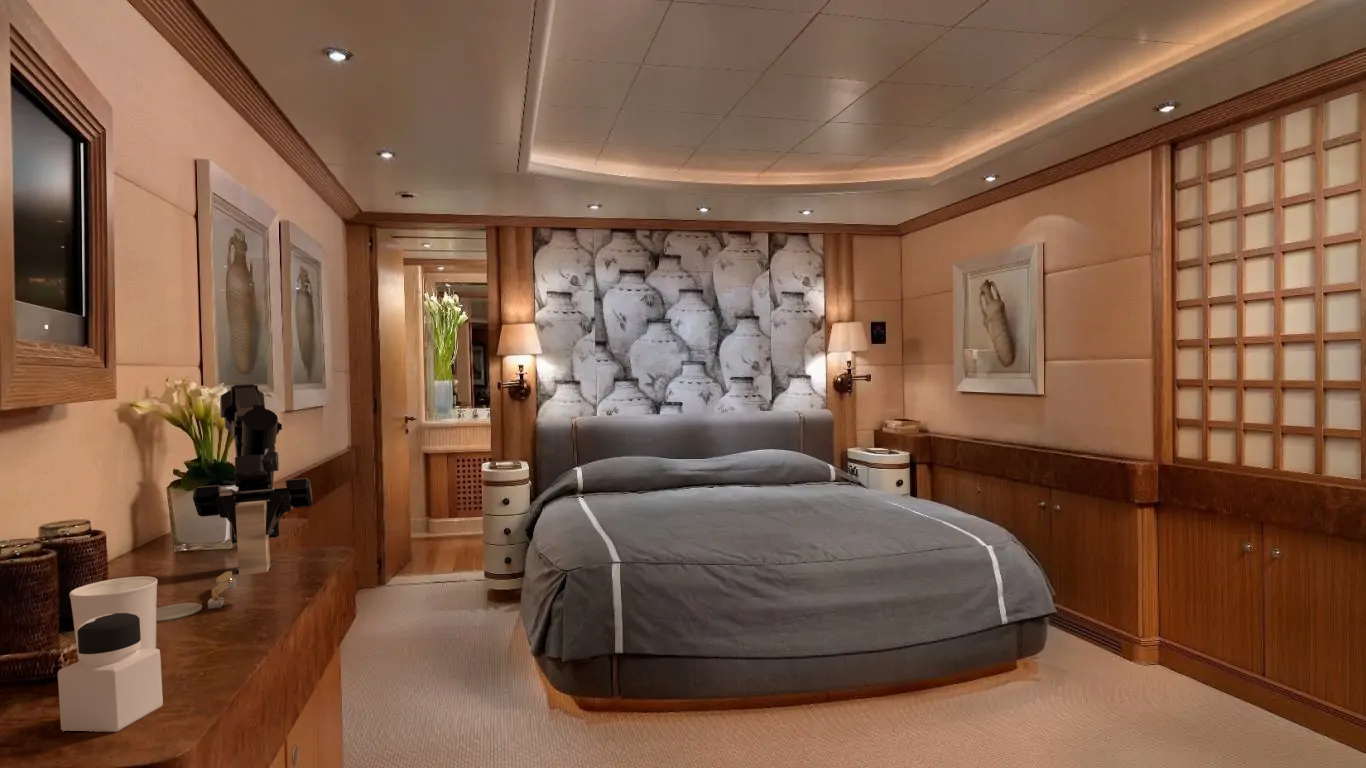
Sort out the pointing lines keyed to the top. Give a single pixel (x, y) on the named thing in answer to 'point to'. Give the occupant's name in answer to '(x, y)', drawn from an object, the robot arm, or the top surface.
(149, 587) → the candle holder
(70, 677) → the medicine bottle
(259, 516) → the maple peg
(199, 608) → the coaster
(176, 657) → the top surface
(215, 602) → the zigzag wooden handle
